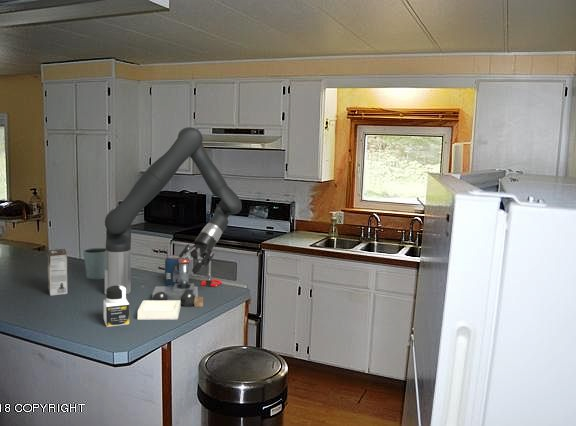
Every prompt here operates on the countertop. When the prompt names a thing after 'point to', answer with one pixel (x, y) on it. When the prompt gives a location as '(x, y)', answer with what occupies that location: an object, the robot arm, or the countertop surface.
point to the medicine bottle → (116, 306)
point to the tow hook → (209, 280)
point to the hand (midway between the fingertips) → (186, 270)
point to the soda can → (171, 270)
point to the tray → (159, 309)
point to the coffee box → (57, 271)
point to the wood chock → (198, 302)
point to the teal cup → (95, 262)
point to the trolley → (176, 294)
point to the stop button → (184, 272)
